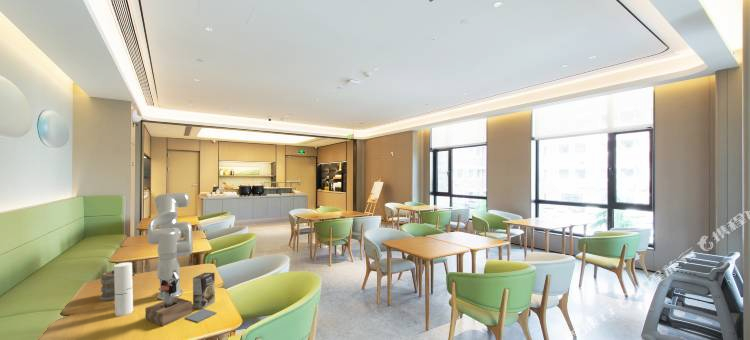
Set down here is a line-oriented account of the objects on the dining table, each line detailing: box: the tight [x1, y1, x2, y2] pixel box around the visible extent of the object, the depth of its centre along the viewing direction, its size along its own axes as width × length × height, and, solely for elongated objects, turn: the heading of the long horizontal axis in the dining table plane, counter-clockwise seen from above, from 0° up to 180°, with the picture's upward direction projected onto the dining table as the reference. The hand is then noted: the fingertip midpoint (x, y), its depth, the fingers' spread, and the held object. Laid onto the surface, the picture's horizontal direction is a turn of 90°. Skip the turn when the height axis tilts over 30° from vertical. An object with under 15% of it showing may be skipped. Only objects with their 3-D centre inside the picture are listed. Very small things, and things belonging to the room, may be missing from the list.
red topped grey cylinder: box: [161, 283, 173, 308], centre depth 153 cm, size 6×6×16 cm
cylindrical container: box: [113, 261, 134, 317], centre depth 157 cm, size 7×7×25 cm
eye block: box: [144, 297, 193, 327], centre depth 153 cm, size 14×14×6 cm
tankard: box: [99, 269, 136, 302], centre depth 178 cm, size 20×13×15 cm, turn 76°
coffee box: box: [192, 272, 216, 310], centre depth 165 cm, size 9×6×16 cm
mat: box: [184, 308, 218, 323], centre depth 153 cm, size 10×10×1 cm
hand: (168, 291), depth 152 cm, fingers closed on red topped grey cylinder, 6 cm apart
